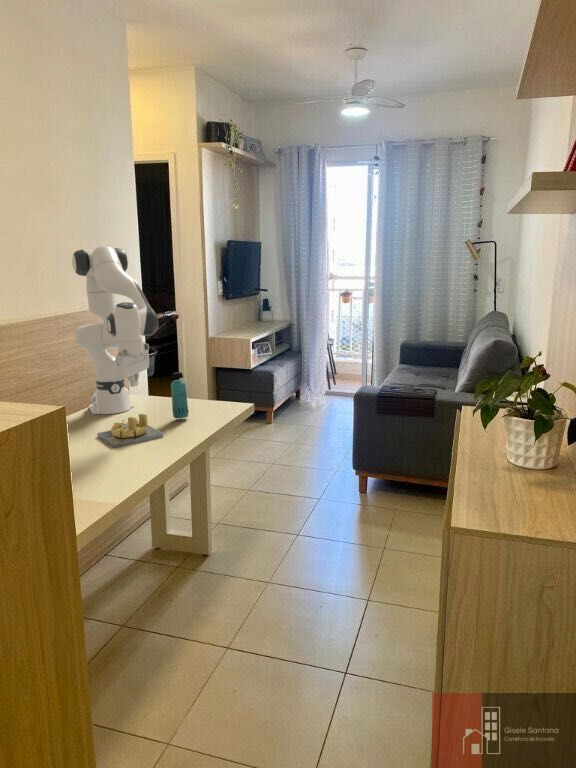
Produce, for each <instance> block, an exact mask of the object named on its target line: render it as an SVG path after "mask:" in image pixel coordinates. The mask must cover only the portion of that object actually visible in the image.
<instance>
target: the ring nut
mask: <svg viewBox="0 0 576 768" xmlns="http://www.w3.org/2000/svg"><path fill="white" fill-rule="evenodd" d="M124 423H128V426H129V429H125V427H122V424H124ZM148 425H149V424H148V415H147V414H145V413H139V414H138V419H137V418H136V417H133V416H130V417H127V420H126V419H124V420H121V423H120V422H114V423H113V425H112V426H111V429H110V430H111V431H112V436H114V437H119V438H121V437H122V438H126V437H134V436H139V435H142V434H144V433H146V431H147V426H148Z"/></svg>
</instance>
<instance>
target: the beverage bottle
mask: <svg viewBox="0 0 576 768" xmlns="http://www.w3.org/2000/svg"><path fill="white" fill-rule="evenodd" d="M183 378H184V374H183V372H182V371H181V372H180V371H177V372H173V373H172V379H175V380H173V381H172V382H171V383H170V389H171V403H172V404H171V407H172V408H171V409H172V417H173V418H174V419H185V418H187V417H189V405H188V392H187V382H186V381H185V380H184V379H183Z"/></svg>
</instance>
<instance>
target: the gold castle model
mask: <svg viewBox="0 0 576 768" xmlns="http://www.w3.org/2000/svg"><path fill="white" fill-rule="evenodd" d="M122 427H125V429H129V426H128V423H124V424H122ZM96 436H97V437H96V438H98V439H100V440H101V441H103V442H104V443H105V444H107V445H108V446H110V448H113V449H118V448H120V447H126V446H131V445H134V444H139V443H143V442H144V443H145V442H148V441H151V440H152V441H153V440H157V439H161V438H164V433H163V432H161V431H160V430H158V429H157V428H154V427H153V426H150V425H149V424H148V426H147V431H146V433H144V434H142V435H139V436H134V437H126V438H122V437H121V438H119V437H114V436H112V431H111V429H109V430H105V431H100V432H97V433H96Z"/></svg>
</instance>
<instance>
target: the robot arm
mask: <svg viewBox="0 0 576 768" xmlns="http://www.w3.org/2000/svg"><path fill="white" fill-rule="evenodd" d="M71 265H72V269H73V270H74V272H75V274H77V276H81V277H86V279H85V281H86V283H85V285H86V286H85V287H86V296H87V297H86V298H87V304H88V309H89V312H91V313H92V314H93V315H95V316H98V317H100V318H101V319H102V321H103V323H89V324H84V325H81V326H78V327H77V329H76V330H75V334H74V340H75V343H76V344H77V346H78V347H79V348H81V349H82V350H83V351H85V352H86V353H87V354H88V355H89V356H90V358H91V360H92V361H93V365H94V368H95V374H96V382H95V386H96V387H95V388H96V390H95V392H94V393H93V395H92V396H91V397H90V402H91V403H92V404H89V406H88V408H89V410H90V412H91V414H92V415H113V414H118V413H119V414H121V413H124V412H127V411H129V410H130V409H132V408H134V407H135V404H134V403H131V397H130V396H131V395H130V391H129V389H128V388H126V381H125V379H127V380H128V381H129V386H130V387H131V388H132V387H133V388H134V387H137V386H138V385H139V377H140V373H141V372H143V371H145V370H146V371H147V370H148V369H149V367H150V355H149V349H150V345H149V343H146V342H144V341H143V337H145V336H146V337H147V336H149V337H150V336H151V337H152V336H153V335H154V334H155V333H156V332H157V331H158V329H159V328H160V327H159V326H160V325H159V324H160V323H159V318H158V315H157V313H156V312H155V310H154V309H153V308H152V307H151V305H150V303H149V302H148V299H147V298H146V295H145V293H144V292H143V291H142V288H141V287H140V285H139V283H138V282H137V280H136V279H135V278H133V277H132V276H129V274H128V273H126V271H127V270H128V268H129V267H128V266H129V257H128V255H127V253H126V251H125V250H124V249H123V248H118V247H115V248H112V247H110V246H108V245H100V246H97V247H96V248H89V249H79V250H76V251H75V252H74V253H73V254H72V258H71ZM115 295H120V296H123V297H126V298H129V299H130V300H132V302H120V303H116V298H115ZM108 349H117V354H116V356H114V355H112V354H110V352H108Z"/></svg>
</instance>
